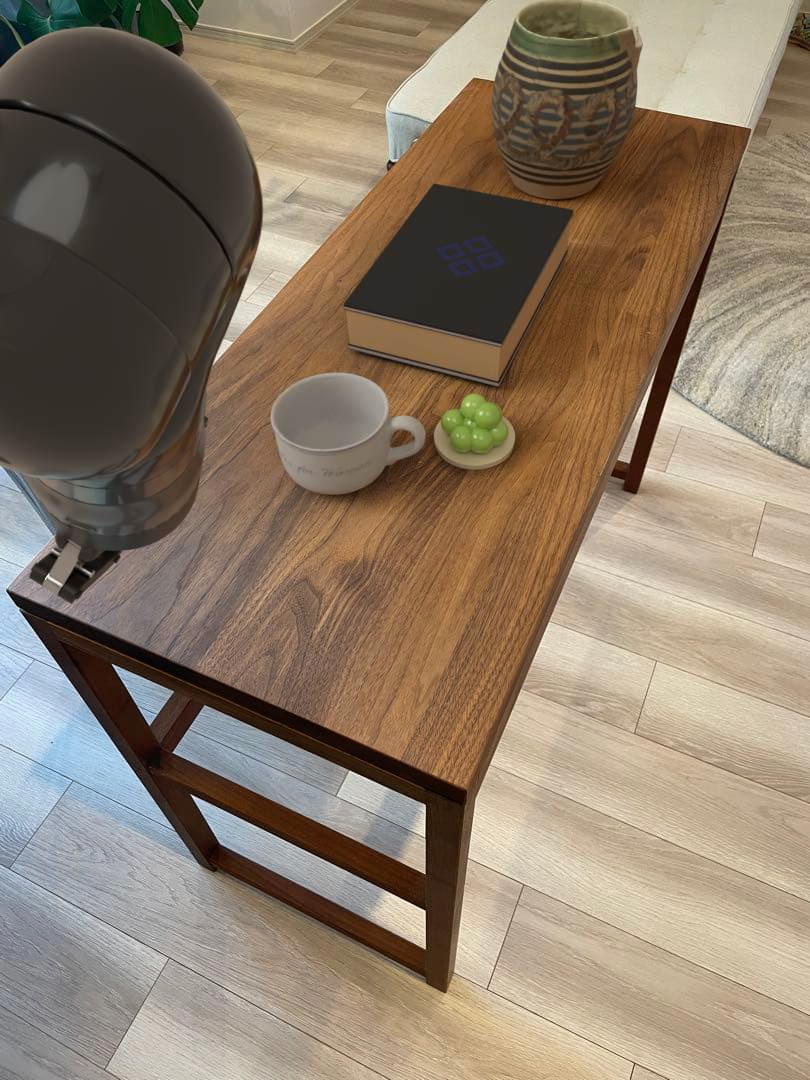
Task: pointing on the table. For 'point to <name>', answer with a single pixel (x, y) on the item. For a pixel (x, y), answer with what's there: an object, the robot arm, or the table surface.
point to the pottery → (565, 95)
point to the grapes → (474, 434)
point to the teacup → (338, 432)
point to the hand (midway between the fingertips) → (128, 526)
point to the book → (460, 283)
